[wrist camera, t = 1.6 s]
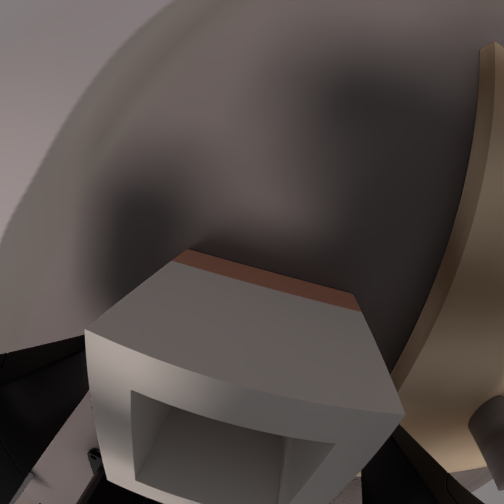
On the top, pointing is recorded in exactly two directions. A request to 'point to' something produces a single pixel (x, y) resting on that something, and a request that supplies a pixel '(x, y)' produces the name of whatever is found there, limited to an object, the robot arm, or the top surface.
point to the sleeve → (236, 387)
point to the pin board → (465, 311)
